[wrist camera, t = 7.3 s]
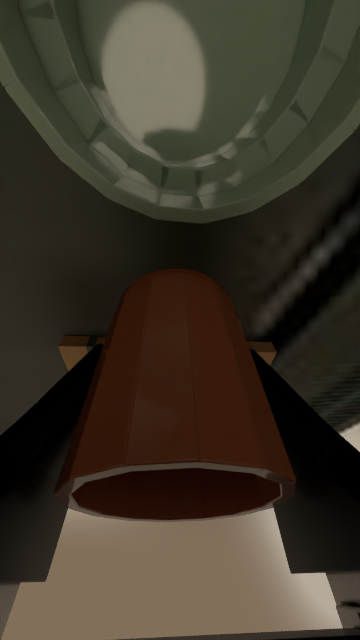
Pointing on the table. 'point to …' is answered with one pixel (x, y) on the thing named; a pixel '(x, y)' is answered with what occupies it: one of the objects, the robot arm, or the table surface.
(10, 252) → the table surface
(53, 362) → the table surface
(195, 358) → the cup
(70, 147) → the bowl
